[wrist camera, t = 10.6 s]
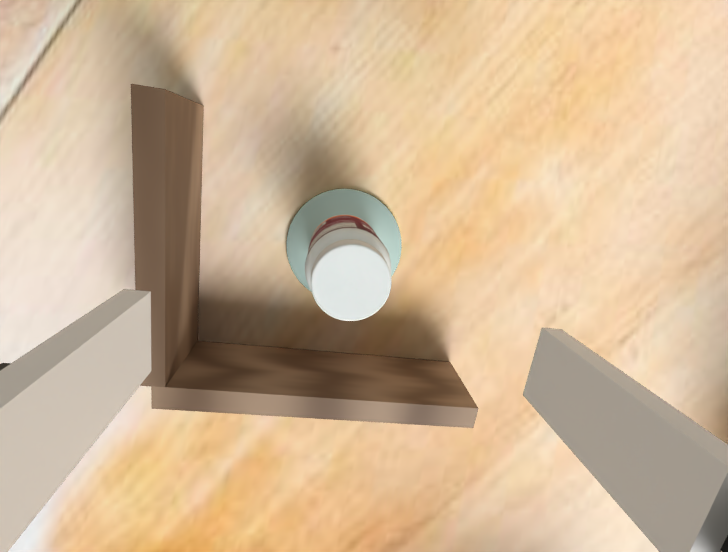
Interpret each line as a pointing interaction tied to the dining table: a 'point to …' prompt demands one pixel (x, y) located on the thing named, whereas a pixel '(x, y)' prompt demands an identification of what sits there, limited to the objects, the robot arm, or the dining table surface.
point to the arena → (235, 361)
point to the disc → (338, 205)
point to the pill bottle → (348, 268)
